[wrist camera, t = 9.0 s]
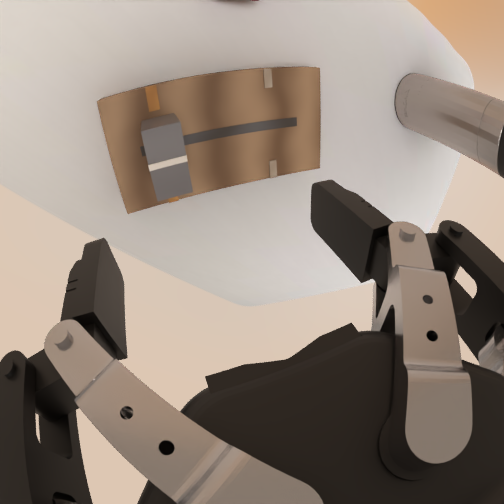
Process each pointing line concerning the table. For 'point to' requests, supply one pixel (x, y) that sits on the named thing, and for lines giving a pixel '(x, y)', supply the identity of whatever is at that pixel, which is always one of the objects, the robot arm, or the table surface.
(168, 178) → the fader cap
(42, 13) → the table surface
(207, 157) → the fader base
